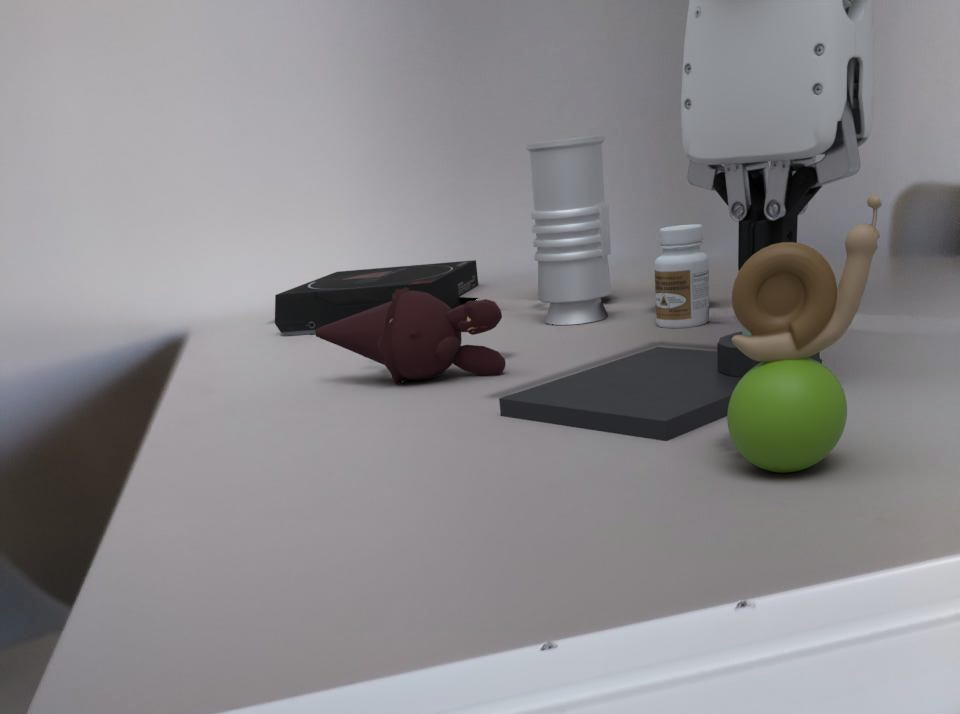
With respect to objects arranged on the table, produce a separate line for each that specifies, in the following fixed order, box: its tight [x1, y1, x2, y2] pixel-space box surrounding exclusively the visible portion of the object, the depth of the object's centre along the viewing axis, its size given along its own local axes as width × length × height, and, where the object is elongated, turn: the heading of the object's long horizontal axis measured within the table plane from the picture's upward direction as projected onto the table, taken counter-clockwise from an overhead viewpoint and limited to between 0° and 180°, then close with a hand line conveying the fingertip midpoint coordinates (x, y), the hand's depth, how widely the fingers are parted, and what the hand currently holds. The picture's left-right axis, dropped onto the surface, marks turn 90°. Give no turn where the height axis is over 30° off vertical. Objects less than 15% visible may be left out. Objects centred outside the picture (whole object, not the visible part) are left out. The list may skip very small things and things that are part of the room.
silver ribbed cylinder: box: [525, 134, 613, 326], centre depth 92 cm, size 7×7×15 cm
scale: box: [498, 331, 823, 442], centre depth 64 cm, size 16×14×3 cm
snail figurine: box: [726, 193, 883, 474], centre depth 47 cm, size 5×6×12 cm
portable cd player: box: [274, 259, 479, 337], centre depth 109 cm, size 16×17×4 cm
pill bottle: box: [654, 223, 710, 329], centre depth 86 cm, size 4×4×8 cm
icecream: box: [314, 287, 506, 385], centre depth 77 cm, size 7×7×15 cm
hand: (766, 288), depth 63 cm, fingers closed
